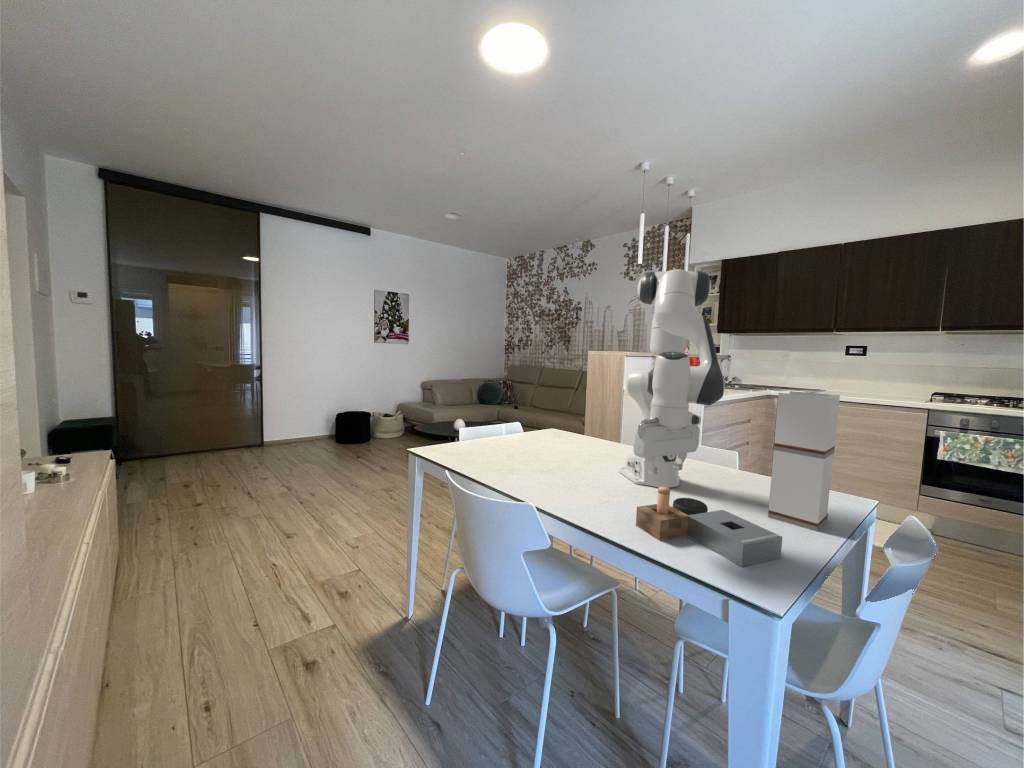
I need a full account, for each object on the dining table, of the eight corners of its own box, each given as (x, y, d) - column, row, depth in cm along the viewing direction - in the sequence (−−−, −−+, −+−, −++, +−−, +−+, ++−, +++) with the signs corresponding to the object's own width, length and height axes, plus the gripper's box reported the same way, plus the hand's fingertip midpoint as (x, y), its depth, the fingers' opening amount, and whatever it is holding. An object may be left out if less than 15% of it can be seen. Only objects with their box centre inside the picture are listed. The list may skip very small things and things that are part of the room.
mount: (635, 525, 108) (636, 506, 108) (663, 520, 112) (664, 502, 111) (659, 540, 100) (660, 520, 100) (688, 535, 103) (689, 516, 103)
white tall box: (827, 520, 115) (839, 395, 111) (817, 531, 108) (830, 397, 104) (780, 508, 123) (790, 391, 120) (767, 517, 116) (778, 393, 113)
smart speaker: (689, 508, 121) (690, 495, 121) (714, 520, 113) (715, 506, 113) (665, 512, 118) (666, 498, 118) (689, 525, 110) (690, 510, 109)
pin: (653, 528, 107) (655, 487, 106) (662, 527, 108) (664, 486, 107) (660, 533, 104) (663, 490, 103) (669, 531, 105) (672, 489, 104)
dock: (685, 534, 103) (686, 514, 103) (721, 528, 108) (723, 509, 107) (741, 567, 89) (743, 543, 88) (780, 558, 93) (782, 535, 92)
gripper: (649, 421, 95) (646, 480, 96) (705, 417, 105) (701, 470, 106) (629, 417, 100) (625, 473, 101) (684, 413, 111) (680, 464, 112)
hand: (665, 471), depth 104 cm, fingers open, 8 cm apart
